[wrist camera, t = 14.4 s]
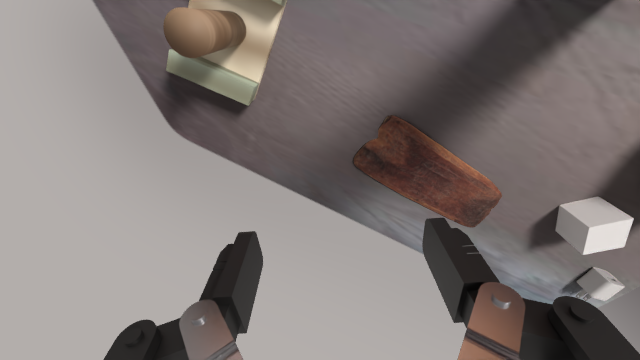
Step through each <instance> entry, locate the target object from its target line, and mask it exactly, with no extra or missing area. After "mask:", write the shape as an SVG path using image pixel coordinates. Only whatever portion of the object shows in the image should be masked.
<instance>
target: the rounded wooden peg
mask: <svg viewBox="0 0 640 360" xmlns="http://www.w3.org/2000/svg"><path fill="white" fill-rule="evenodd" d="M164 34H165V37H166V39H167V41H168V43H169V45H170V46H171V47H172V49H173V50H174V51H176V52H177V53H178V54H180V55H181V56H184V57H186V58H198V57H201V56H204V55H207V54H211V53H214V52H217V51H220V50H223V49H227V48H230V47H233V46H236V45H239V44H241V43H242V42H243V41H244V39H245V37H246V25H245V23H244V21H243V19H242V18H241V17H240V16H239V15H238V14H237V13H235V12H232V11H223V10H209V9H195V8H175V9H173V10H171V11H170V12H169V13H168V14H167V15H166V17H165V20H164Z"/></svg>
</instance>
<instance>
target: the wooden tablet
mask: <svg viewBox="0 0 640 360" xmlns="http://www.w3.org/2000/svg"><path fill="white" fill-rule="evenodd" d="M354 164H355V166H356V167H358V168H359V169H360V170H362V171H363V172H365V173H366V174H367V175H369V176H370V177H372V178H374V179H375V180H377V181H379V182H380V183H382V184H384V185H385V186H387V187H389V188H390V189H393V190H394V191H396V192H398V193H400V194H401V195H403V196H405V197H407V198H409V199H411V200H413V201H415V202H417V203H419V204H421V205H423V206H425V207H427V208H429V209H431V210H433V211H435V212H437V213H439V214H441V215H443V216H445V217H447V218H449V219H451V220H454V221H455V222H457V223H459V224H462V225H464V226H467V227H475V226H476V225H478V224H479V223H480V222H481V221H482V220H483V219H484V218H485V217H486V216H487V215H488V214H489V213H490V211H491V209H492V208H494V207H495V206H496V205H497V203H498V201H499V200H500V198H501V197H502V194H501V193H500V191H499V190H498V188H497V187H496V186H495V185H494V184H493V183H492V182H491V181H490V180H489V179H488V178H486V177H485V176H484V175H482V174H481V173H479V172H478V171H476V170H475V169H473V168H472V167H470V166H469V165H467V164H466V163H465V162H463V161H462V160H460V159H459V158H458V157H456V156H455V155H453V154H452V153H451V152H449V151H448V150H446V149H445V148H444V147H442V146H441V145H440V144H438V143H436V142H435V141H434V140H432V139H431V138H429V137H428V136H426V135H425V134H423V133H422V132H421V131H419V130H418V129H417V128H415V127H414V126H412V125H411V124H409V123H407V122H406V121H404V120H402V119H401V118H398V117H396V116H392V115H391V116H387V117H386V119H385V120H384V121H383V123H382V125H381V126H380V128H379V130H378V138H377V139H373V140H371V141H369V142H367V143H366V144H365V145H364V146H363V147H362V148H361V149H360V150H359V151H358V152H357V154H356V155H355V157H354Z"/></svg>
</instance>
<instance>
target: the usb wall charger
mask: <svg viewBox="0 0 640 360" xmlns="http://www.w3.org/2000/svg"><path fill="white" fill-rule="evenodd" d="M576 282H577V283H578V284H579V285H580V286H581V287H582V288H583V290H582V291H580V292H579V293H578V294H577V295H576V297H577V296H578V295H579V298H581V297H582V296H583V295H585V294H586V293H588V294H587V295H586V296H585V297H587V300H589V299H590V298H591V297H593V298H596V299H600V300H603V301H606V300H608V299H609V298H610V297H612V296H613V295H614V294H616V293H617V292H618V291H620V290H621V289H623V288H624V287H625V286H624V285H623V284H622V283H621V282H619V281H618V280H617V279H616V278H615V277H614V276H612V275H611V274H610V273H609V272H607V271H605V270H602V269H599V268H595V267H593V268H592V269H591V270H589V271H588V272H587V273H586V274H585V275H583V276H582V277H581V278H580V279H579V280H577V281H576ZM585 297H584V298H583V299H584V300H585V301H587V300H586V299H585ZM577 298H578V297H577ZM579 298H578V299H579Z"/></svg>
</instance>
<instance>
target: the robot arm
mask: <svg viewBox="0 0 640 360" xmlns="http://www.w3.org/2000/svg"><path fill="white" fill-rule="evenodd" d="M423 253H424V256H425V259H426V261H427V263H428V265H429V268H430V270H431V272H432V274H433V277H434V279H435V281H436V283H437V286H438V288H439V290H440V292H441V295H442V297H443V299H444V302H445V303H446V306H447V308H448V311H449V313H450V315H451V317H452V320H453V322H454V323H459V322H464V324H465V326H466V328H467V330H466V333H465V337H464V340H463V343H462V346H461V349H460V353H459V356H458V359H457V360H640V354H639V353H638V352H637V351H636V350H635V348H634V347H633V346H632V345H631V344H630V343H629V342H628V341H627V340H626V339H625V337H624V336H623V335H622V334H621V333H620V332H619V331H618V330H617V328H615V326H614V325H613V324H612V323H611V322H610V321H609V320H608V318H607V317H606V316H605V315H604V314H603V313H602V312H601V311H600V310H598V309H597V308H596V307H594V306H593V305H591V304H590V303H588V302H586V301H584V300H581V299H578V298H575V297H570V296H562V297H558V298H556V299H555V300H554V302H553V304H547V303H542V302H537V301H533V300H528V299H524V298H522V297H521V296H520V295H519V294H518V293H517V292H516V291H515V290H514V289H512V288H511V287H509V286H507V285H504V284H502V283H500V282H499V280H498V279H497V277H496V276H495V275H494V273H493V272H492V270H491V269H490V267H489V266H488V264H487V263H486V261H485V260H484V259H483V257H482V256H481V254H479V251H478V250H477V248H476V247H475V246H474V244H473V243H472V241H471V240H470V238H469V237H468V235H466V234H465V233H463V232H462V231H461V230H459V229H458V228H451V227H450V226H449V224H448V223H447V221H446V220H445V218H432V219H426V221H425V227H424V236H423ZM262 266H263V256H262V252H261V248H260V245H259V241H258V238H257V234H256V232H255V231H252V232H240V233H238V235H237V237H236V240H235V242H234V244H228V245H227V246H226V247H225V248H224V249H223V250H222V251H221V252H220V254H219V257H218V259H217V261H216V264H215V266H214V268H213V271H212V273H211V275H210V277H209V279H208V282H207V284H206V286H205V289H204V291H203V293H202V295H201V298H200V300H199V302H196V303H194V304H193V305H191V306H190V307H189V308H188V309H187V310H186V311H185V312H184V313H183V315H182V316H181V318H179V319H176V320H174V321H171V322H168V323H165V324H162V325H159V326H156V325H155V323H154V322H153V321H151V320H141V321H138V322H135V323H133V324H132V325H130V326H128V327H127V328H126V329H125V330H124V331H123V332H121V333H120V334H119V336H118V337H117V338H116V340H115V341H114V343H113V345H112V347H111V348H110V350H109V351H108V353H107V355H106V356H105V358H104V360H243V358H242V356H241V354H240V352H239V350H238V347H237V345H236V343H235V342H236V338H237V334H239V333H247V329H248V325H249V320H250V317H251V312H252V308H253V304H254V300H255V296H256V292H257V288H258V284H259V279H260V275H261V271H262Z"/></svg>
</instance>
